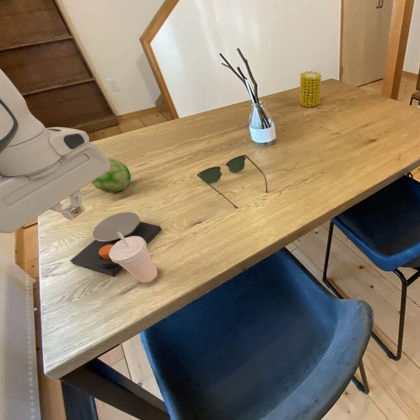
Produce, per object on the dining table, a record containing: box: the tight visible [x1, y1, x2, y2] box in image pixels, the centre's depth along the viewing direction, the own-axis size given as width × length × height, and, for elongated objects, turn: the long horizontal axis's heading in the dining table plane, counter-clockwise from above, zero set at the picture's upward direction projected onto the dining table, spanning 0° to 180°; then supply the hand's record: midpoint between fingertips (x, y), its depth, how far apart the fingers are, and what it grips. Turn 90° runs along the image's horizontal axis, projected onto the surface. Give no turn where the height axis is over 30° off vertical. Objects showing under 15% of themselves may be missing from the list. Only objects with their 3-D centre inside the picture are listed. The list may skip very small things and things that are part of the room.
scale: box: [69, 220, 163, 278], centre depth 66 cm, size 15×12×3 cm
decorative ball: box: [90, 157, 132, 193], centre depth 81 cm, size 10×10×10 cm
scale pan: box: [92, 211, 141, 243], centre depth 68 cm, size 10×10×1 cm
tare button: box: [99, 245, 113, 260], centre depth 62 cm, size 3×3×2 cm
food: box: [299, 70, 322, 108], centre depth 127 cm, size 15×12×10 cm
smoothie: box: [109, 232, 158, 284], centre depth 56 cm, size 6×6×14 cm
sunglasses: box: [196, 154, 268, 209], centre depth 83 cm, size 16×17×5 cm
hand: (76, 214), depth 54 cm, fingers closed
